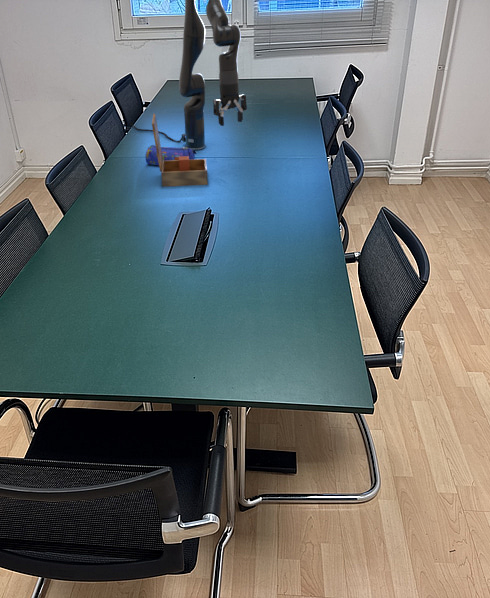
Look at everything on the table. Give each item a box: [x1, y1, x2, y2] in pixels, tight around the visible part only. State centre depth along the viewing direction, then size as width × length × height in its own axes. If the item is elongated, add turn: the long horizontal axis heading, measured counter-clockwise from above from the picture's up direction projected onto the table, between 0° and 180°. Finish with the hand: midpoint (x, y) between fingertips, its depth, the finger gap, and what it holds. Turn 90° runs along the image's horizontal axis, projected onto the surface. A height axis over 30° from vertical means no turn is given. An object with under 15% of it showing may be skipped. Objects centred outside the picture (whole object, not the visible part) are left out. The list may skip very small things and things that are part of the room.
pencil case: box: [145, 144, 197, 166], centre depth 242 cm, size 22×9×10 cm, turn 71°
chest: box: [160, 158, 209, 188], centre depth 229 cm, size 19×14×7 cm
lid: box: [151, 113, 163, 173], centre depth 221 cm, size 19×14×1 cm
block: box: [179, 156, 189, 171], centre depth 230 cm, size 4×4×8 cm
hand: (230, 123), depth 224 cm, fingers open, 8 cm apart
